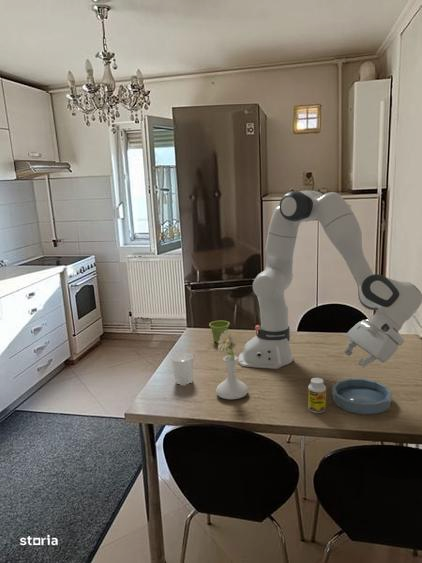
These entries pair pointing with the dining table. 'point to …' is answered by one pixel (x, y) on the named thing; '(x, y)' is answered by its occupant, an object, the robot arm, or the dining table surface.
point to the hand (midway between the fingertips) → (353, 359)
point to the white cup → (183, 368)
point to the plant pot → (218, 329)
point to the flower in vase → (230, 372)
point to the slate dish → (361, 396)
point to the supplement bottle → (317, 395)
